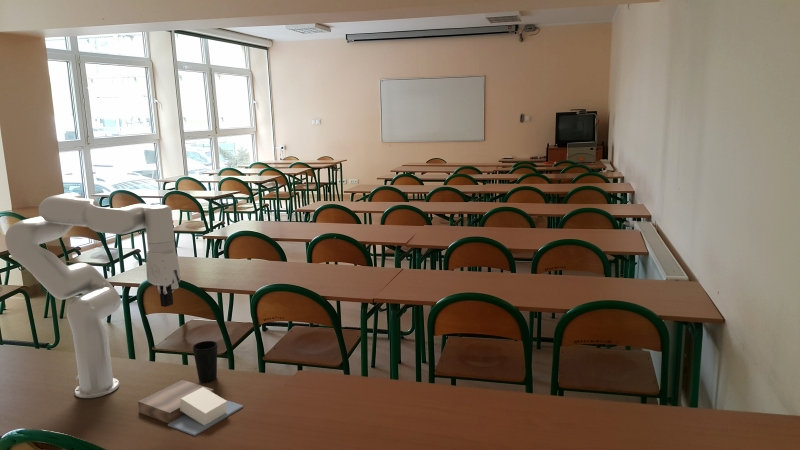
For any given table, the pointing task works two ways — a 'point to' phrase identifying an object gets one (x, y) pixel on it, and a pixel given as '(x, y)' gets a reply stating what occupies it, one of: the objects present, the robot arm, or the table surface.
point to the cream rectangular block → (203, 406)
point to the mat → (195, 427)
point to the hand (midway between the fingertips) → (167, 305)
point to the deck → (168, 401)
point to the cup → (206, 361)
